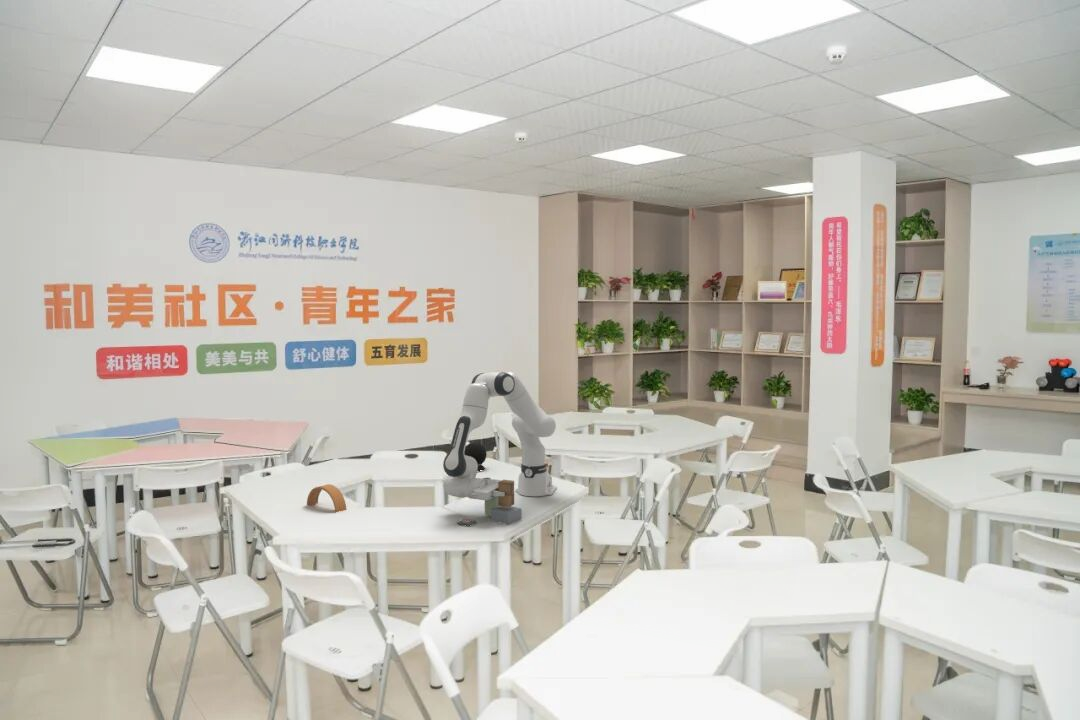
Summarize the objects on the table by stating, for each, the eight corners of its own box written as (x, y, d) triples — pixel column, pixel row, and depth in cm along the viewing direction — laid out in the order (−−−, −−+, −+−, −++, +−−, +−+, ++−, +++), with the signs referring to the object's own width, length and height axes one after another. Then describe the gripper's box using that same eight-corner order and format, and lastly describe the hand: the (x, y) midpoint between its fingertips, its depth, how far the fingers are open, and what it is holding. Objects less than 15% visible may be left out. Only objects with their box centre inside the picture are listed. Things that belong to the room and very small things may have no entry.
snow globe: (481, 473, 395) (481, 445, 394) (458, 471, 399) (458, 444, 398) (490, 467, 408) (489, 441, 407) (467, 466, 411) (467, 439, 410)
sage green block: (490, 512, 320) (489, 494, 319) (500, 513, 318) (500, 495, 317) (484, 515, 315) (484, 497, 315) (495, 516, 313) (495, 498, 313)
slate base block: (504, 516, 315) (504, 504, 315) (521, 519, 310) (521, 508, 309) (491, 521, 308) (491, 509, 307) (508, 525, 302) (507, 513, 302)
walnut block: (503, 502, 311) (503, 479, 311) (514, 504, 309) (514, 480, 309) (498, 505, 307) (498, 482, 306) (509, 507, 305) (509, 483, 304)
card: (463, 520, 307) (463, 518, 307) (476, 522, 305) (476, 520, 305) (456, 524, 302) (456, 522, 302) (469, 526, 300) (469, 524, 300)
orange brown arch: (335, 513, 319) (335, 490, 319) (306, 505, 331) (306, 484, 330) (346, 509, 324) (345, 487, 323) (317, 502, 336) (316, 481, 335)
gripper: (467, 487, 303) (497, 490, 298) (489, 476, 322) (518, 479, 316) (467, 502, 303) (497, 505, 298) (489, 490, 322) (518, 493, 317)
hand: (508, 492), depth 307 cm, fingers closed on walnut block, 5 cm apart
